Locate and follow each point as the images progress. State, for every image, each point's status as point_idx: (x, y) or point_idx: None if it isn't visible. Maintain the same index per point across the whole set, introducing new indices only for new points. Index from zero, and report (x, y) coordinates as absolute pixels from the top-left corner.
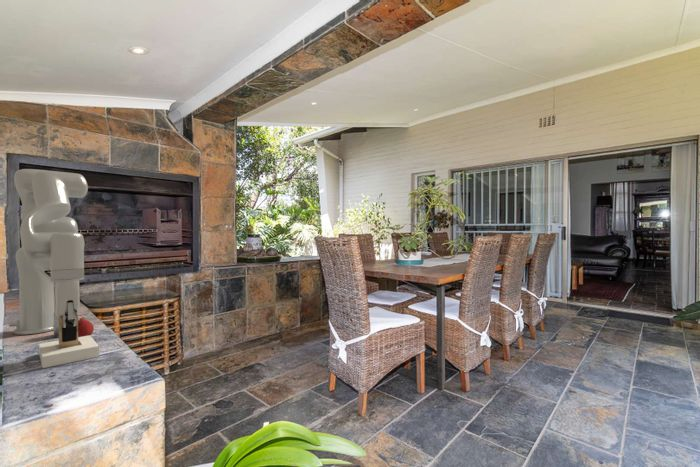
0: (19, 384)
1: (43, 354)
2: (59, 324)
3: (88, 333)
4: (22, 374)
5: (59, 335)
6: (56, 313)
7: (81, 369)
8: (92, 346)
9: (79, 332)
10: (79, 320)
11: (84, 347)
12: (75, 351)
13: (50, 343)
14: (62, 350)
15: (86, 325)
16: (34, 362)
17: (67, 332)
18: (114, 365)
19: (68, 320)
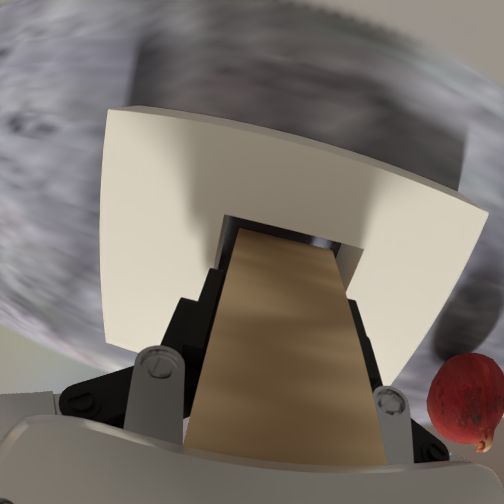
0: (16, 30)
1: (156, 123)
2: (269, 373)
3: (428, 399)
4: (123, 28)
5: (284, 296)
6: (104, 480)
7: (15, 210)
8: (117, 328)
9: (448, 385)
10: (487, 430)
11: (126, 306)
12: (104, 259)
13: (433, 249)
14: (156, 224)
15: (445, 426)
16: (313, 110)
17: (167, 332)
18: (2, 282)
19: (28, 395)
